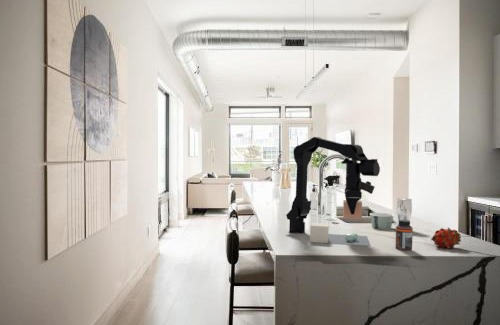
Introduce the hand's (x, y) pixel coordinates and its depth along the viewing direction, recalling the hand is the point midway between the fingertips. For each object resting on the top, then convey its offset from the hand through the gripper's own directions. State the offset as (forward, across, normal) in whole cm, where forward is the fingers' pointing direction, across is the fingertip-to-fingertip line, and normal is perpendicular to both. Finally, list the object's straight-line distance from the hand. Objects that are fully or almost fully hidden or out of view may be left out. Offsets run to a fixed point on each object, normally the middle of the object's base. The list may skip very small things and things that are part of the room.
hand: (352, 213), depth 169 cm
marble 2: (+12, +1, -1) cm, 12 cm away
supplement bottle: (+12, -9, -19) cm, 24 cm away
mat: (+12, +2, +5) cm, 13 cm away
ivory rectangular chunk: (+12, -3, +13) cm, 18 cm away
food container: (+12, +42, -16) cm, 47 cm away
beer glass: (+12, +38, -26) cm, 48 cm away
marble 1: (+12, -1, +1) cm, 12 cm away
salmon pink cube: (+2, 0, 0) cm, 2 cm away
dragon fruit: (+12, 0, -36) cm, 38 cm away
